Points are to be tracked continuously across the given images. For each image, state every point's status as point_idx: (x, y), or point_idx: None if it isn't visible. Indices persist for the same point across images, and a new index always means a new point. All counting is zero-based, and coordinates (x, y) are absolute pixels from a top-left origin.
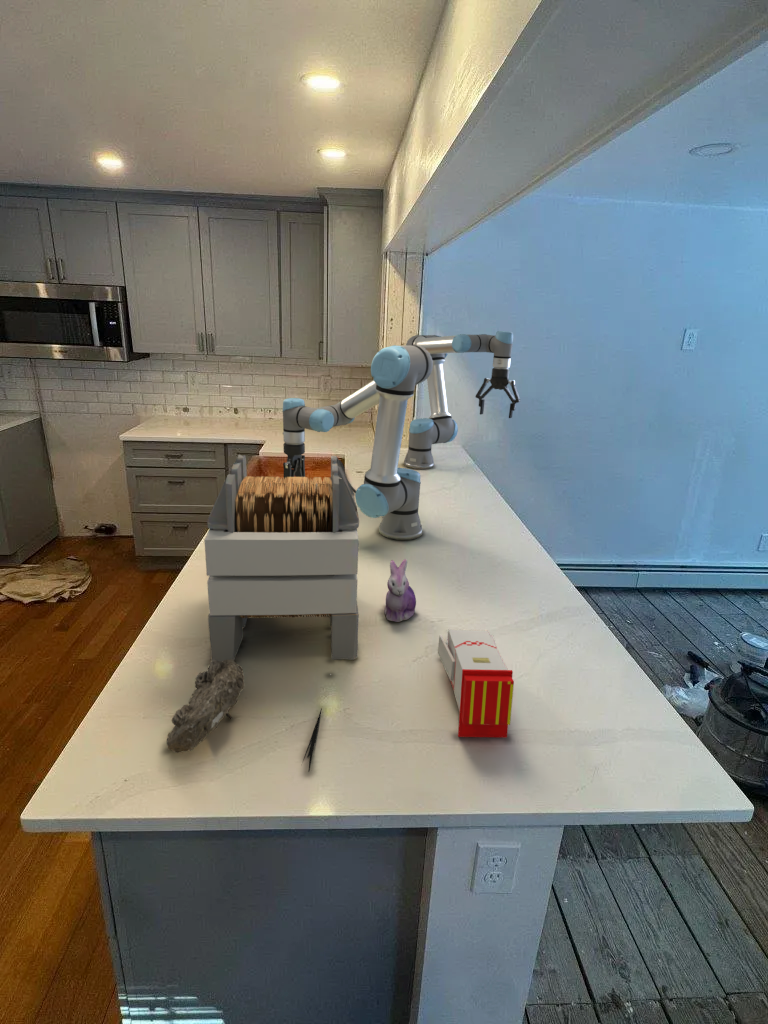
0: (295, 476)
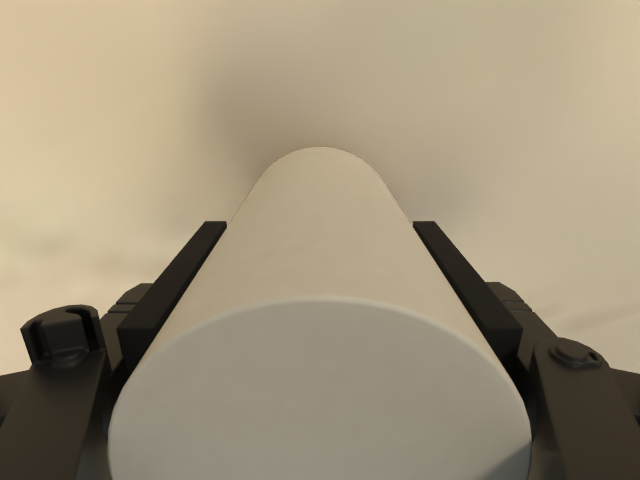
0: (560, 476)
